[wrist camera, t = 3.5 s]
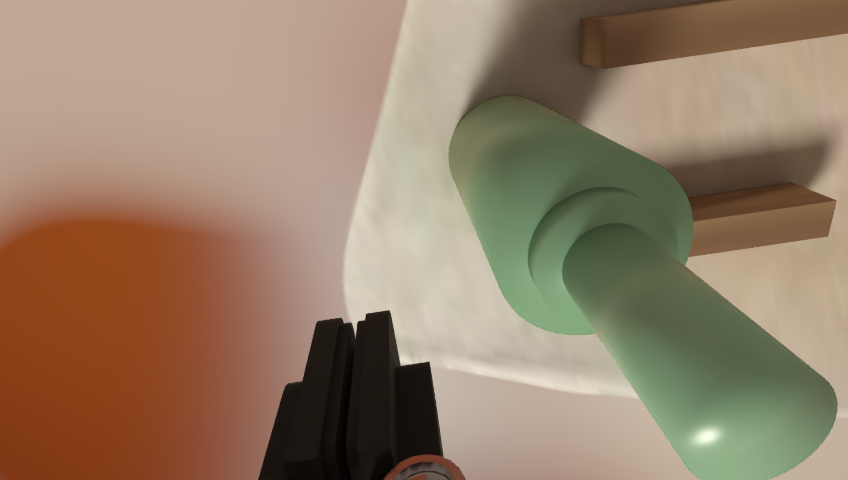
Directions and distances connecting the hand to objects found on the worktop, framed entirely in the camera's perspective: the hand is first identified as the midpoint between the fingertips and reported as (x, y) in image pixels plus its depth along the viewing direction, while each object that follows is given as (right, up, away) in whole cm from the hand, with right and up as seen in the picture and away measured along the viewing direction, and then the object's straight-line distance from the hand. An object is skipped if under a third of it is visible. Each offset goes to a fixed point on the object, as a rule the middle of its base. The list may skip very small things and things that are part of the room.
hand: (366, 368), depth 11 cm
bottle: (+6, +7, +14) cm, 17 cm away
